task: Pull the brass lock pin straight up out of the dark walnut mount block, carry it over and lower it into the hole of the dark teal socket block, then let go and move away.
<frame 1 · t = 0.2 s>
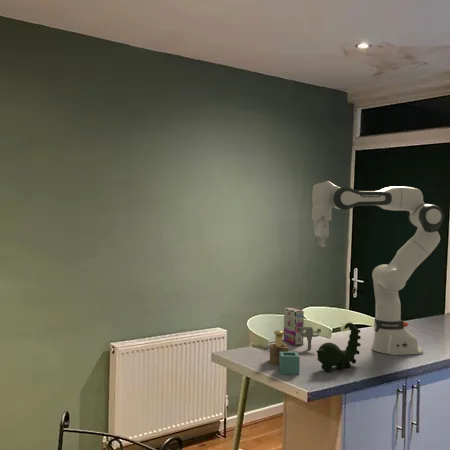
hand: (321, 246, 246), 48 cm above the counter, tool pointing down, fingers open, 8 cm apart
mechanical component: (309, 349, 248), on the counter
pin mount: (278, 362, 226), on the counter
lock pin: (278, 347, 226), in the pin mount
socket block: (289, 371, 213), on the counter
toy figurine: (337, 368, 218), on the counter
candy bar box: (293, 343, 260), on the counter
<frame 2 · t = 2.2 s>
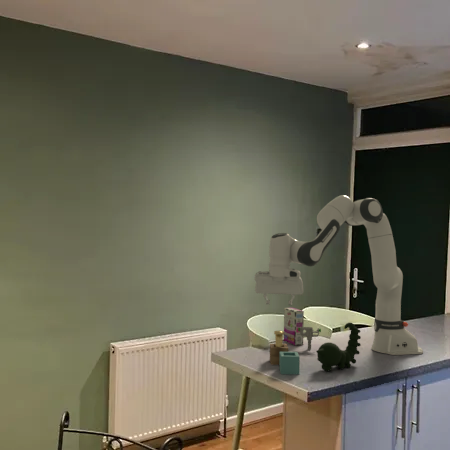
hand: (279, 304, 225), 24 cm above the counter, tool pointing down, fingers open, 8 cm apart
nothing on the counter moved.
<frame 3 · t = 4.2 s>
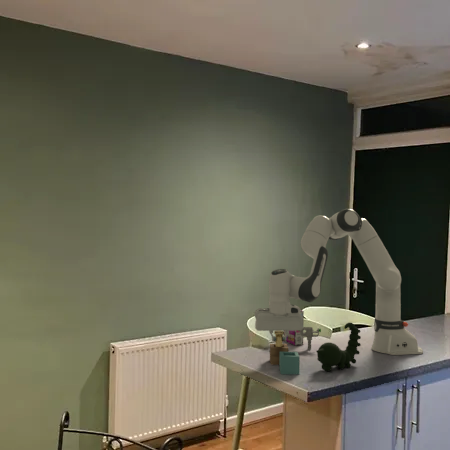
hand: (279, 340, 226), 9 cm above the counter, tool pointing down, fingers closed on lock pin, 3 cm apart
lock pin: (278, 347, 226), in the pin mount, touching gripper
everything else where it was.
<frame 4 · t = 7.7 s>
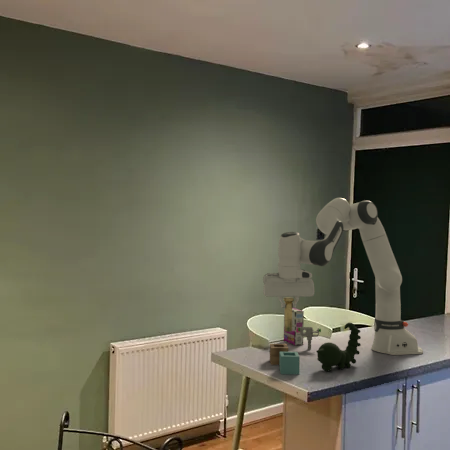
hand: (288, 307, 213), 25 cm above the counter, tool pointing down, fingers closed on lock pin, 3 cm apart
lock pin: (288, 314, 213), point 23 cm above the counter, touching gripper
everything else where it was.
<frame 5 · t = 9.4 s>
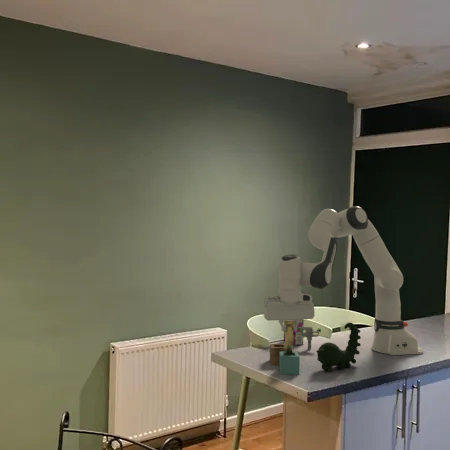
hand: (289, 330, 213), 16 cm above the counter, tool pointing down, fingers closed on lock pin, 3 cm apart
lock pin: (289, 337, 213), point 14 cm above the counter, touching gripper
everything else where it was.
when the fingers open (10 cm above the counter, at t = 11.0 s): lock pin stays where it is, resting in socket block.
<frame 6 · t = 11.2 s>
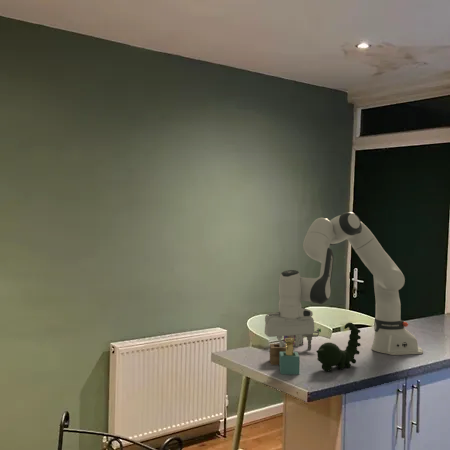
hand: (289, 346, 213), 10 cm above the counter, tool pointing down, fingers open, 5 cm apart
lock pin: (289, 355, 213), in the socket block
everything else where it was.
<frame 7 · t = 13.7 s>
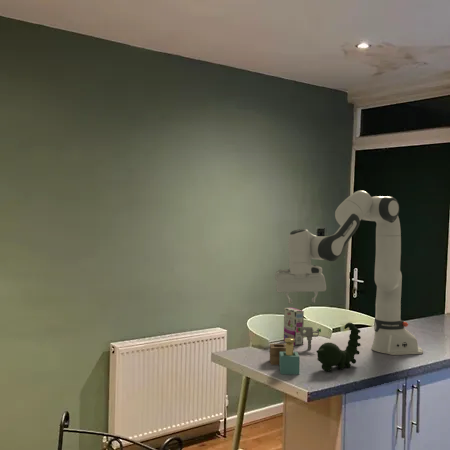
hand: (301, 302, 218), 26 cm above the counter, tool pointing down, fingers open, 8 cm apart
nothing on the counter moved.
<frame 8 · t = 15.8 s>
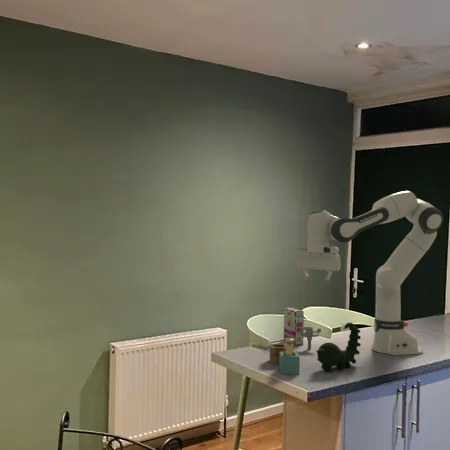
hand: (317, 279, 232), 34 cm above the counter, tool pointing down, fingers open, 8 cm apart
nothing on the counter moved.
at the end: lock pin 0.1 cm off-centre on the socket block, point 6.5 cm above the socket block's base; lock pin tilted 0°; the gripper is holding nothing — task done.
